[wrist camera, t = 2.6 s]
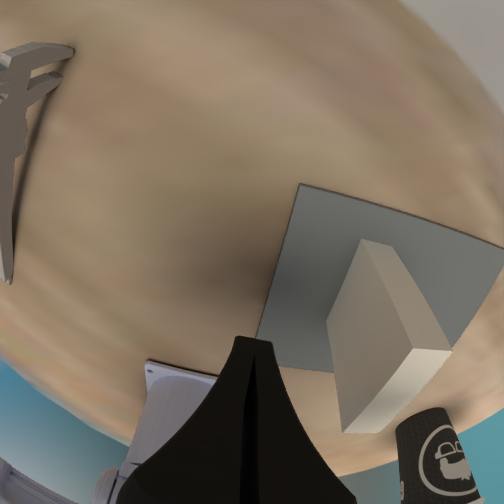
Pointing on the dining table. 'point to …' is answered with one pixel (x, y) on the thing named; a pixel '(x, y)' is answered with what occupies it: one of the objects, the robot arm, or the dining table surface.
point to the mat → (341, 256)
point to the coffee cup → (433, 462)
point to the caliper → (19, 123)
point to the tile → (381, 340)
